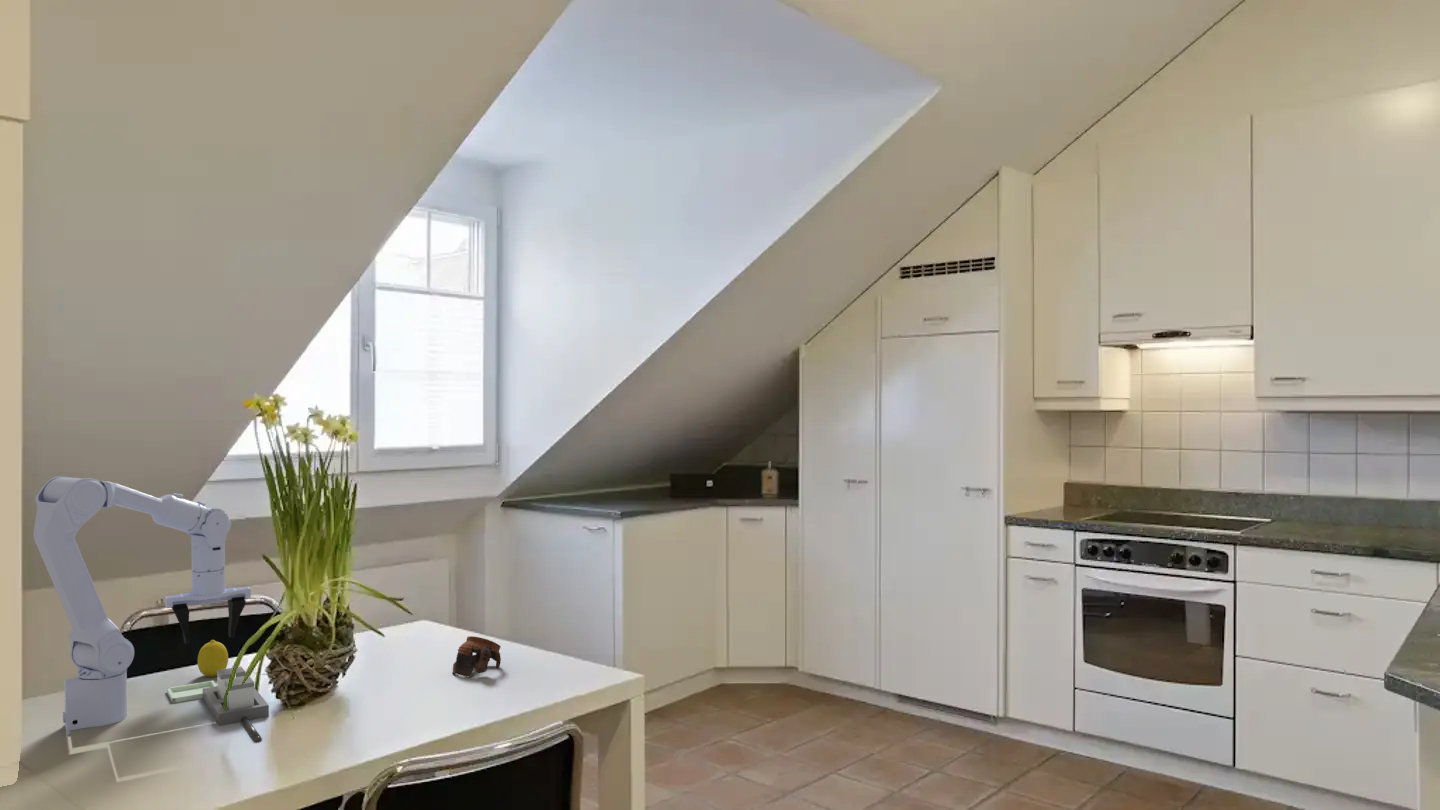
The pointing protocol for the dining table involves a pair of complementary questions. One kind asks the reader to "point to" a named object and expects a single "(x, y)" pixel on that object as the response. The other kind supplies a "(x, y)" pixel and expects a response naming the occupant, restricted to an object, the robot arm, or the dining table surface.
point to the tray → (188, 691)
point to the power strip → (237, 711)
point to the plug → (224, 676)
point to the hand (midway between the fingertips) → (209, 639)
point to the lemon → (212, 658)
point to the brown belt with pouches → (476, 656)
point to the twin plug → (240, 694)
